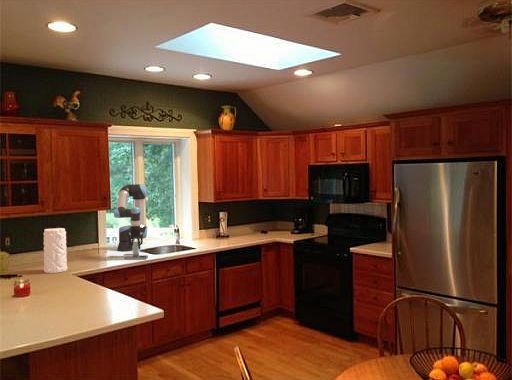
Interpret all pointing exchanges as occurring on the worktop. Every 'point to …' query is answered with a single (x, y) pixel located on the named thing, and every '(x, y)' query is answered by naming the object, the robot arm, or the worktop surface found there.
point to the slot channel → (141, 257)
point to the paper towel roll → (55, 250)
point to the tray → (115, 258)
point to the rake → (135, 249)
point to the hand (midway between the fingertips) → (135, 252)
